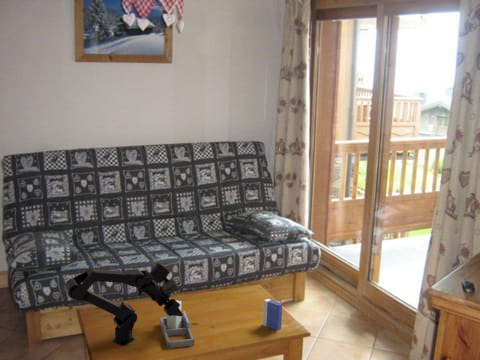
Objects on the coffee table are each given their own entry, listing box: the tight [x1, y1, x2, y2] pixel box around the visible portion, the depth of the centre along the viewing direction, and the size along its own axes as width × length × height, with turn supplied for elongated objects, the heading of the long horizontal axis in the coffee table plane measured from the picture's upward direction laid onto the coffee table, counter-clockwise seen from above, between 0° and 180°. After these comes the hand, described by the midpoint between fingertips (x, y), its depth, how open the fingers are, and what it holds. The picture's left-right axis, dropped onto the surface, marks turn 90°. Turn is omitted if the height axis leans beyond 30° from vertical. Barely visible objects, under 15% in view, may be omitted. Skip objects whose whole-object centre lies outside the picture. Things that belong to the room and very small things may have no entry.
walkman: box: [262, 298, 283, 331], centre depth 251 cm, size 8×3×12 cm, turn 54°
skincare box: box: [166, 299, 183, 330], centre depth 246 cm, size 6×4×12 cm
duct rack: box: [159, 310, 195, 349], centre depth 242 cm, size 20×11×5 cm, turn 16°
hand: (177, 310), depth 246 cm, fingers open, 9 cm apart
